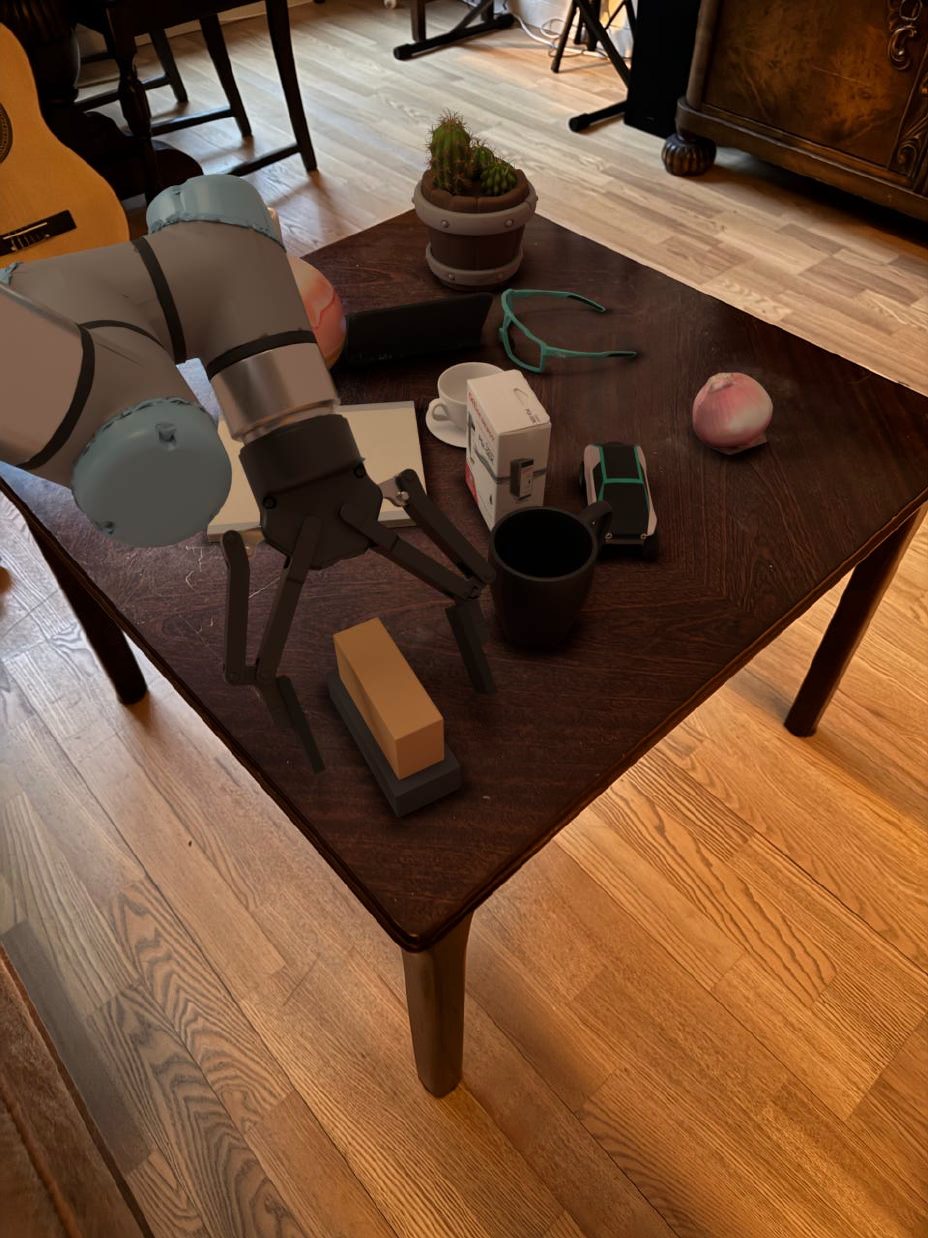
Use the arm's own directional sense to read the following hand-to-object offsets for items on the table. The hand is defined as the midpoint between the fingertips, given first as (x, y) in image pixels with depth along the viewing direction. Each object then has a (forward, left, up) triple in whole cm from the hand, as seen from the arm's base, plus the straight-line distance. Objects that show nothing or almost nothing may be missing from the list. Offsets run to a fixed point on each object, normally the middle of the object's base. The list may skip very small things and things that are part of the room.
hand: (404, 729), depth 60 cm
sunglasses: (+22, +54, -5) cm, 59 cm away
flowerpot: (+14, +71, -5) cm, 73 cm away
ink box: (+11, +27, -5) cm, 30 cm away
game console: (+5, +55, -5) cm, 56 cm away
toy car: (+21, +24, -5) cm, 32 cm away
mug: (+13, +13, -5) cm, 19 cm away
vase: (-9, +51, -5) cm, 52 cm away
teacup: (+10, +40, -5) cm, 42 cm away
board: (-6, +34, -5) cm, 35 cm away
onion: (+35, +34, -5) cm, 49 cm away
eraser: (-1, +2, -5) cm, 5 cm away
